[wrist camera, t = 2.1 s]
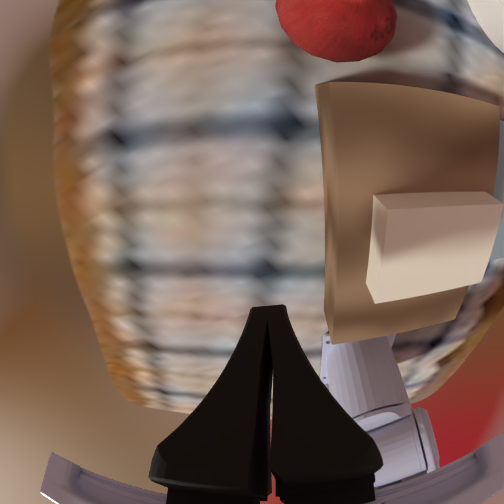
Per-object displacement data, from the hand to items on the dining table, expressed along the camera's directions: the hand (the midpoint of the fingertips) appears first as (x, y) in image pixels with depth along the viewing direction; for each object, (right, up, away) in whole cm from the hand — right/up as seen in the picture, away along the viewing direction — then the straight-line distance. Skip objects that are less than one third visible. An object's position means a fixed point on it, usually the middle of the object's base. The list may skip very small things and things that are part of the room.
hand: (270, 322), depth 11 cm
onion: (+3, +17, +1) cm, 17 cm away
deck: (+10, +6, +7) cm, 14 cm away
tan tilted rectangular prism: (+11, +4, +3) cm, 12 cm away
